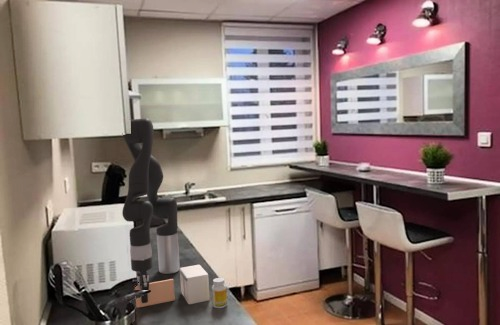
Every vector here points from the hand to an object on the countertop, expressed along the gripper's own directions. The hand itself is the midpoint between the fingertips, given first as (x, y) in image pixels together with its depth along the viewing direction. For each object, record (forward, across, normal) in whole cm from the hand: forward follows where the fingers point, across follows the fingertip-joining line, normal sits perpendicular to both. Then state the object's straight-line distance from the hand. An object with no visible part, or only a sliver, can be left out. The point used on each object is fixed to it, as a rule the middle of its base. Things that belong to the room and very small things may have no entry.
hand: (144, 301), depth 155 cm
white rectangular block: (+2, 0, +19) cm, 19 cm away
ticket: (+2, 0, +4) cm, 4 cm away
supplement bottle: (+2, +12, +25) cm, 28 cm away
